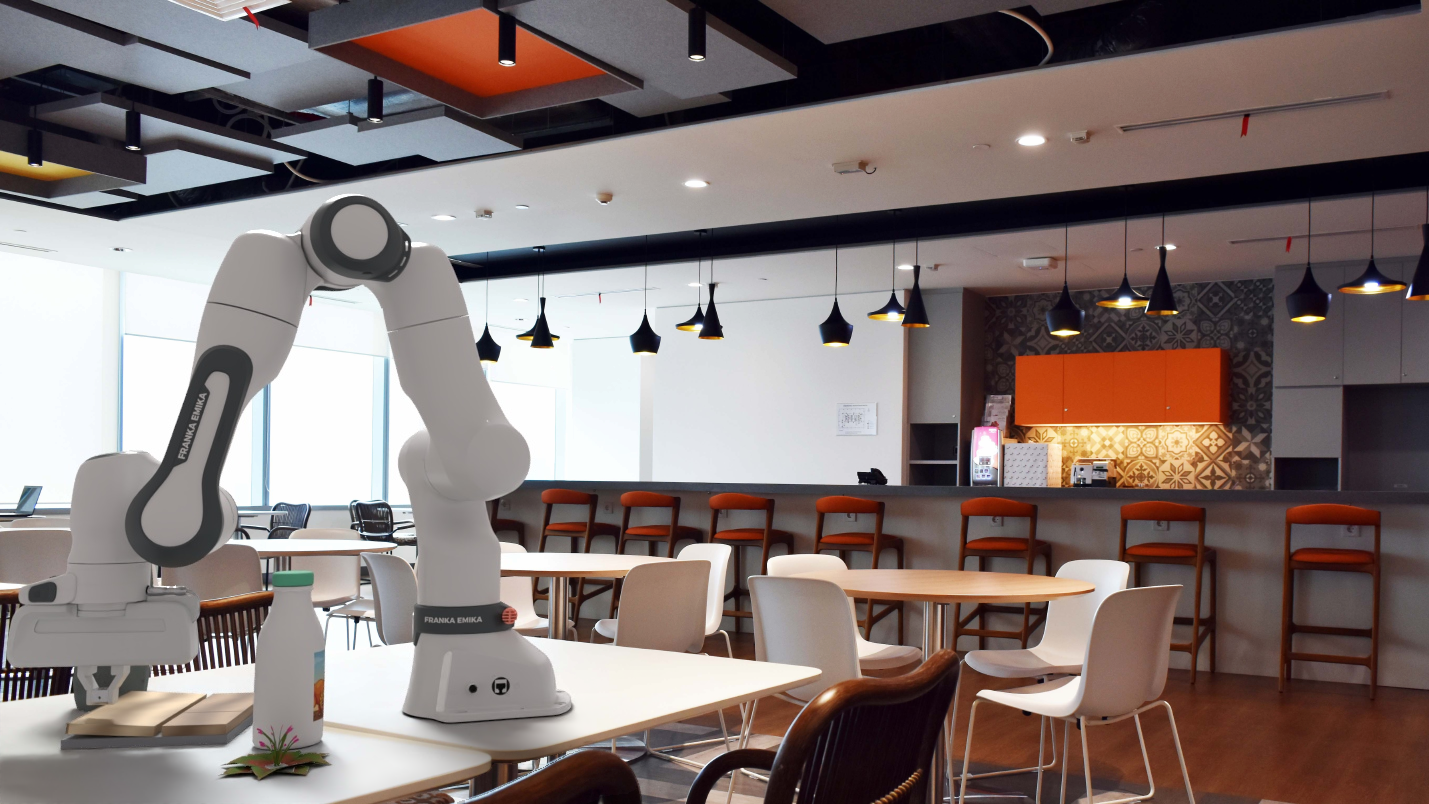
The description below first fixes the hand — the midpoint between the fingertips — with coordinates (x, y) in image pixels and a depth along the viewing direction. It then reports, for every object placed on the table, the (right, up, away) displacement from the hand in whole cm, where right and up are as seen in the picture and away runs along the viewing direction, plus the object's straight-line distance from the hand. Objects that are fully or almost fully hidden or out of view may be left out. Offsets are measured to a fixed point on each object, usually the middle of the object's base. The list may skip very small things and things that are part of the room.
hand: (102, 703), depth 126 cm
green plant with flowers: (+25, -4, -12) cm, 28 cm away
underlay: (+5, -5, +7) cm, 10 cm away
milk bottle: (+23, -4, -2) cm, 23 cm away
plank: (+1, -3, +6) cm, 7 cm away
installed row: (+10, -4, +8) cm, 14 cm away
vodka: (-10, -6, +20) cm, 23 cm away
